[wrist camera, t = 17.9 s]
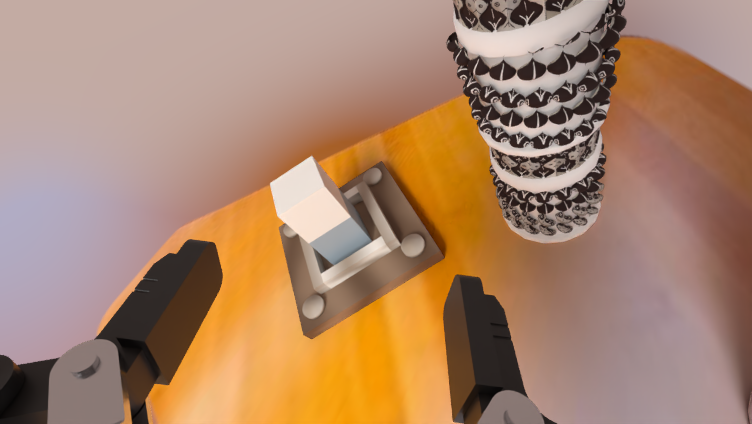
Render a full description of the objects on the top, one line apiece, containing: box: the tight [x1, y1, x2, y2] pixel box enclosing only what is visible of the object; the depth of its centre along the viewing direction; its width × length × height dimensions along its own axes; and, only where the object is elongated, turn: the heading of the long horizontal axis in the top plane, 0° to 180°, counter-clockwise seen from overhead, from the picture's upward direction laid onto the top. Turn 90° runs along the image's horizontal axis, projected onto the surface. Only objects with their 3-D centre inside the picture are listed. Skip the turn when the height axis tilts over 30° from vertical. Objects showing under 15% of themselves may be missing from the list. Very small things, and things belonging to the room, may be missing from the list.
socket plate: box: [279, 161, 444, 339], centre depth 40 cm, size 16×16×3 cm
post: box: [270, 156, 372, 265], centre depth 36 cm, size 5×5×10 cm
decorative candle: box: [447, 0, 627, 244], centre depth 24 cm, size 9×9×25 cm
